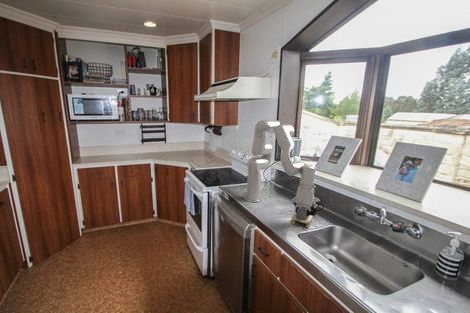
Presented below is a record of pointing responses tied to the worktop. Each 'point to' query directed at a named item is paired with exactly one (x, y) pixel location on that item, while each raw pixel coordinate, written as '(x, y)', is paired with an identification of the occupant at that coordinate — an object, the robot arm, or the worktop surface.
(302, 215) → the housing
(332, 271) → the worktop surface
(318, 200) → the coffee mug
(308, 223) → the stand
